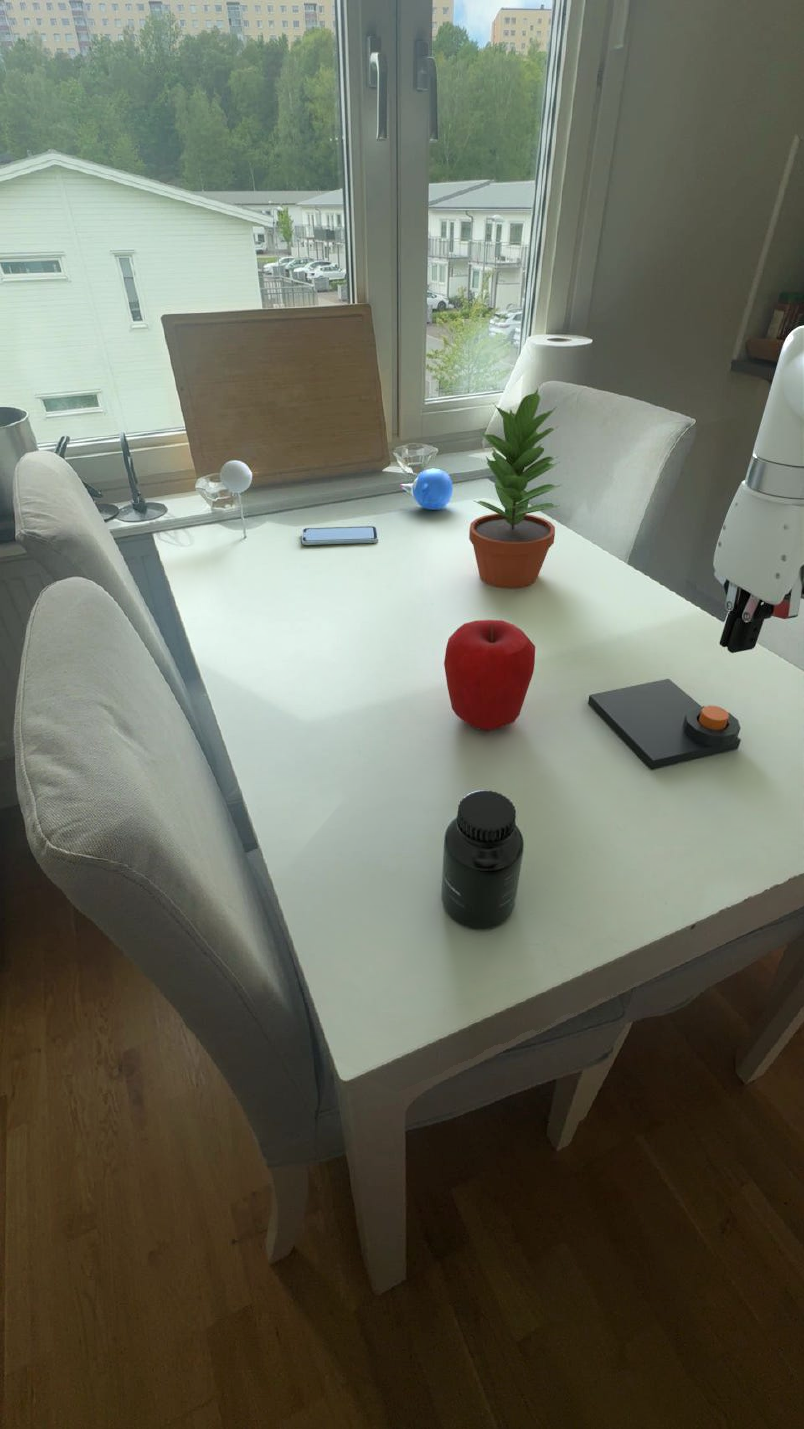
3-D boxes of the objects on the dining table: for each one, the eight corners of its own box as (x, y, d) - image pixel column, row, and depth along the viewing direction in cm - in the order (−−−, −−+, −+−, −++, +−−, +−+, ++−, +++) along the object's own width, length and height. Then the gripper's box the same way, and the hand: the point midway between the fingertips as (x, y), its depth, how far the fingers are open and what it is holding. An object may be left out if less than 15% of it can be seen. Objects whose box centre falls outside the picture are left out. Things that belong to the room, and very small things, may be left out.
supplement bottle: (428, 915, 62) (430, 820, 55) (459, 864, 67) (464, 771, 60) (499, 945, 59) (511, 849, 52) (525, 889, 64) (539, 795, 57)
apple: (428, 726, 85) (429, 631, 77) (468, 688, 92) (473, 597, 84) (504, 755, 80) (514, 657, 72) (540, 713, 87) (553, 618, 79)
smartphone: (378, 539, 133) (301, 541, 132) (378, 543, 134) (301, 546, 133) (376, 525, 139) (302, 528, 138) (376, 529, 140) (303, 532, 139)
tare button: (731, 728, 79) (735, 717, 79) (709, 733, 79) (713, 722, 78) (714, 713, 82) (717, 703, 81) (693, 718, 81) (696, 708, 80)
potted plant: (457, 589, 116) (464, 400, 99) (478, 555, 128) (487, 381, 110) (544, 600, 112) (567, 406, 95) (557, 565, 124) (580, 385, 106)
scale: (743, 750, 80) (751, 730, 78) (653, 772, 77) (658, 752, 75) (669, 686, 91) (674, 667, 90) (587, 703, 88) (590, 684, 87)
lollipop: (224, 541, 136) (211, 464, 127) (238, 530, 140) (226, 455, 131) (252, 544, 134) (241, 466, 125) (265, 533, 139) (255, 457, 130)
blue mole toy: (408, 496, 156) (407, 459, 151) (458, 501, 153) (459, 463, 148) (391, 514, 147) (390, 474, 142) (444, 519, 144) (444, 479, 139)
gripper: (891, 497, 58) (817, 676, 69) (765, 452, 70) (719, 611, 81) (821, 507, 57) (757, 689, 67) (704, 459, 68) (665, 621, 79)
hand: (736, 646), depth 74 cm, fingers closed
